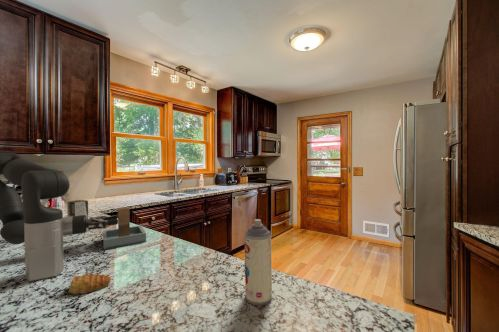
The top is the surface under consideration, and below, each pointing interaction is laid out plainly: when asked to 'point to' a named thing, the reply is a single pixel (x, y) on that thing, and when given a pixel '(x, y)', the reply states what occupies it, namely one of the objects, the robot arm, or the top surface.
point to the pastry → (88, 283)
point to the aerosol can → (258, 264)
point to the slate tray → (123, 238)
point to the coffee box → (77, 208)
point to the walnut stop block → (123, 221)
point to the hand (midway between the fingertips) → (117, 219)
